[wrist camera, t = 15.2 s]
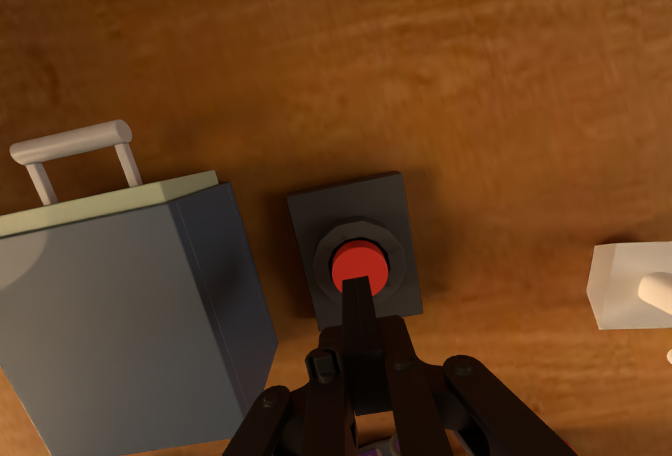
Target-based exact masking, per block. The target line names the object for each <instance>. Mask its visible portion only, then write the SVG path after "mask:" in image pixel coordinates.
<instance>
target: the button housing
mask: <svg viewBox="0 0 672 456" xmlns="http://www.w3.org/2000/svg"><path fill="white" fill-rule="evenodd" d="M286 200H287V204H288V208H289V212H290V216H291V220H292V224H293V228H294V232H295V236H296V240H297V244H298V248H299V252H300V256H301V260H302V264H303V268H304V272H305V276H306V279H307V283H308V287H309V291H310V295H311V299H312V303H313V307H314V311H315V315H316V319H317V323H318V327H319V331H323V329H324V328H326V327H332V326H338V325H342V293H341V292H340V291H339V290H338V289H337V287H336V286H335V284H334V282H333V278H332V264H333V259H334V256H335V254H336V252H337V251H338V249H339V248H340V247H341V246H343V245H344V244H346V243H348V242H350V241H355V240H364V241H368V242H370V243H372V244H374V245H376V246H377V247H378V248H379V249H380V250H381V252H382V254H383V256H384V258H385V261H386V264H387V267H388V278H387V281H386V284H385V285H384V287H383V288H382V289H381V291H379V292H378V293H377V294H376V295H374V296H372V297H373V302H374V307H375V312H376V317H377V318H379V317H385V316H391V315H396V314H397V315H399V316H400V317H405V316H411V315H417V314H422V313H423V308H422V302H421V295H420V289H419V282H418V276H417V269H416V262H415V256H414V249H413V243H412V236H411V230H410V223H409V216H408V210H407V203H406V197H405V190H404V184H403V177H402V173H400V172H398V171H393V172H388V173H383V174H378V175H374V176H369V177H364V178H359V179H354V180H349V181H345V182H340V183H335V184H330V185H325V186H320V187H316V188H311V189H306V190H301V191H296V192H291V193H290V194H289V195H288V196H287V197H286Z"/></svg>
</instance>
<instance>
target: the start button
mask: <svg viewBox="0 0 672 456" xmlns="http://www.w3.org/2000/svg"><path fill="white" fill-rule="evenodd" d="M363 276H368V277H369V282H370V287H371V292H372V296H374V295H376V294H377V293H378V292H379V291H381V289H382V288H383V287H384V285H385V284H386V281H387V278H388V267H387V264H386V261H385V258H384V256H383V254H382V252H381V250H380V249H379V248H378V247H377V246H376V245H374V244H372V243H370V242H368V241H364V240H355V241H350V242H348V243H346V244H344V245H343V246H341V247H340V248H339V249H338V251H337V252H336V254H335V256H334V259H333V264H332V278H333V282H334V284H335V286H336V287H337V289H338V290H339V291H340V292H341V293H342V280H346V279H352V278H357V277H363Z"/></svg>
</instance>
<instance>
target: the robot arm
mask: <svg viewBox="0 0 672 456" xmlns="http://www.w3.org/2000/svg"><path fill="white" fill-rule="evenodd" d="M305 364H306V367H307V371H308V375H309V378H310V380H309V382H308V383H307V384H306V385H304V386H303V387H301V388H299V389H296V390H294V391H292V392H290V391H289V389H288V388H287V387H285V386H281V385H278V386H273V387H270V388H268V389H266V390H264V391H263V392H262V393H260V395H259V396H258V397H257V398H256V400H255V401H254V403H253V405H252V406H251V408H250V410H249V411H248V413H247V415H246V416H245V418H244V420H243V421H242V423H241V425H240V426H239V428H238V430H237V431H236V433H235V435H234V436H233V438H232V440H231V441H230V443H229V444H228V446H227V448H226V449H225V451H224V453H223V454H222V456H359V452H358V434H357V425H356V421H355V414H356V416H360V415H367V414H373V413H380V412H386V411H393V415H394V421H395V426H396V432H397V437H398V443H399V448H400V454H401V456H453V453H452V450H451V447H450V444H449V441H448V439H447V436H446V433H445V430H444V429H450V430H452V431H453V433H454V435H455V436H456V438H457V439H458V441H459V442H460V444H461V445H462V447H463V448H464V450H465V451H466V453H467V454H468V456H579V455H578V454H577V453H576V452H575V451H574V450H573V449H572V448H571V447H569V446H568V445H567V444H566V443H565V442H564V441H563V440H562V439H561V438H560V437H559V436H558V435H557V434H556V433H555V432H554V431H553V430H552V429H551V428H549V427H548V426H547V425H546V424H545V423H544V422H543V421H542V420H541V419H540V418H539V417H538V416H537V415H536V414H535V413H534V412H533V411H532V410H530V409H529V408H528V407H527V406H526V405H525V404H524V403H523V402H522V401H521V400H520V399H519V398H518V397H517V396H516V395H515V394H514V393H513V392H511V391H510V390H509V389H508V388H507V387H506V386H505V385H504V384H503V383H502V382H501V381H500V380H499V379H498V378H497V377H496V376H495V375H494V374H493V373H491V372H490V371H489V370H488V369H487V368H486V367H485V366H484V365H483V364H482V363H481V362H480V361H478V360H477V359H475V358H473V357H470V356H467V355H456V356H452V357H450V358H448V359H447V360H446V361H445V362H444V364H443V366H438V365H430V364H427V363H425V362H423V361H421V360H420V359H419V358H418V357H417V356H416V354H415V351H414V348H413V345H412V342H411V339H410V336H409V334H408V331H407V328H406V325H405V322H404V319H402V318H401V317H400V316H399V315H397V314H396V315H391V316H385V317H379V318H377V317H376V312H375V307H374V302H373V297H372V292H371V287H370V282H369V277H368V276H363V277H357V278H352V279H346V280H342V325H338V326H332V327H326V328H324V329H323V331H322V332H321V334H320V336H319V345H318V348H316V349H314V350H312V351H311V352H310V353H309V354H308V355H307V356H306V358H305ZM354 410H355V414H354Z"/></svg>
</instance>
